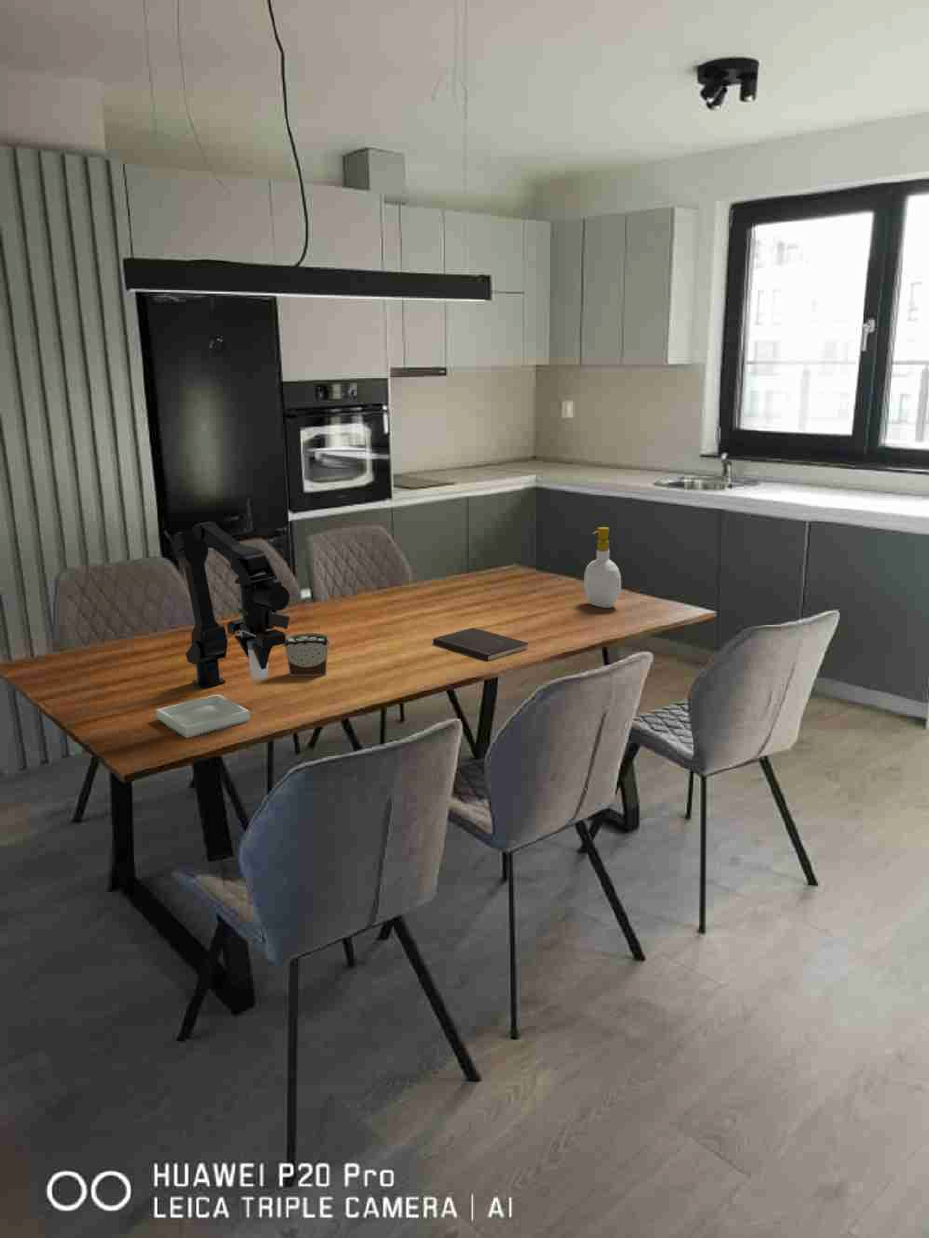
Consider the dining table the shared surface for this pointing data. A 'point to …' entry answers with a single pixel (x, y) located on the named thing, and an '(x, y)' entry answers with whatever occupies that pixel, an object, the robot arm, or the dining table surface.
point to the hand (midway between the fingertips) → (258, 666)
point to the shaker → (255, 664)
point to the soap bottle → (602, 575)
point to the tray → (203, 715)
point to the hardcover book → (480, 643)
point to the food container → (307, 654)
